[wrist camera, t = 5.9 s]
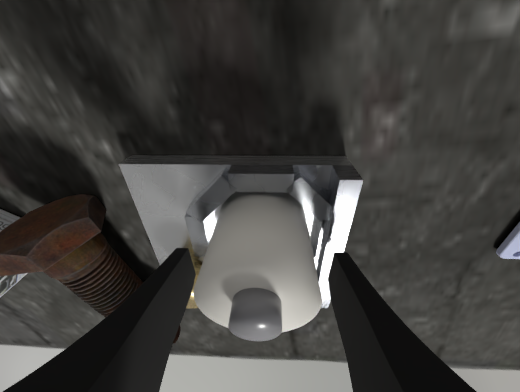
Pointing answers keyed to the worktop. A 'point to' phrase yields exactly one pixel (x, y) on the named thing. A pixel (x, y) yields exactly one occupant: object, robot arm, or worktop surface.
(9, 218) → the light bulb box
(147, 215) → the carrier
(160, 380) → the robot arm
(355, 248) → the worktop surface
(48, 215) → the bolt
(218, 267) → the white knobbed cylinder
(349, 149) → the worktop surface
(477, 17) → the worktop surface
